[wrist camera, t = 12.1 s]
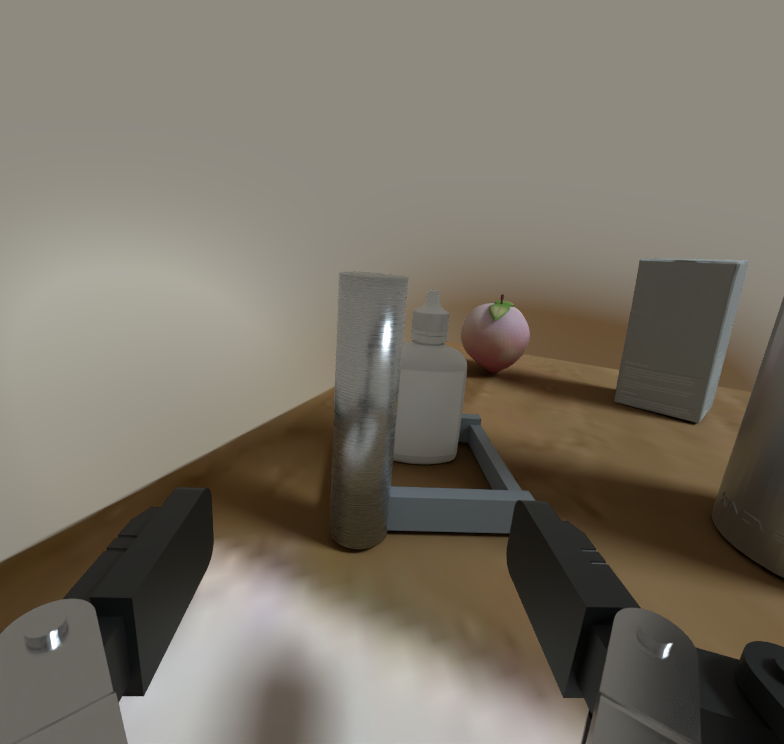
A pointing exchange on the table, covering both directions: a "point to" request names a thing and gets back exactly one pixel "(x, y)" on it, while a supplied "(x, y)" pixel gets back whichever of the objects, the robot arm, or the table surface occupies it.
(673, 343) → the skincare box
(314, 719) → the table surface
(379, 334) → the pull frame
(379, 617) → the table surface
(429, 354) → the eye dropper bottle
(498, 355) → the decorative fruit
